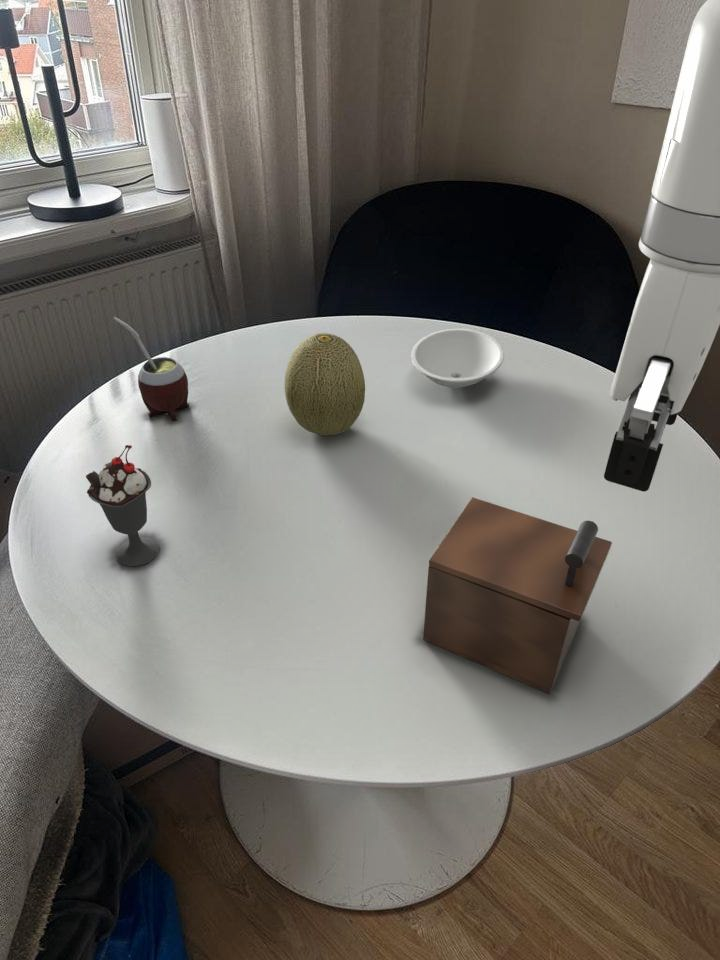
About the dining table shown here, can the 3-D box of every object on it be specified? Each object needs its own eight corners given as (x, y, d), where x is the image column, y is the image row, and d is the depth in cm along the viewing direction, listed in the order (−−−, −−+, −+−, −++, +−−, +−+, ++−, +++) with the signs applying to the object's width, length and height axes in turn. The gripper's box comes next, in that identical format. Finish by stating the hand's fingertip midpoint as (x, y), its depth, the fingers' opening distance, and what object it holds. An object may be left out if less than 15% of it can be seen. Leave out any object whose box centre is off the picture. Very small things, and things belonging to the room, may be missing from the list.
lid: (610, 547, 68) (620, 509, 65) (579, 622, 61) (589, 583, 58) (471, 502, 74) (475, 466, 71) (428, 566, 67) (430, 528, 64)
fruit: (311, 460, 98) (305, 364, 89) (275, 422, 105) (266, 330, 96) (379, 435, 103) (381, 342, 93) (340, 400, 110) (338, 311, 101)
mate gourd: (198, 416, 107) (182, 325, 97) (146, 430, 104) (124, 338, 95) (184, 393, 112) (167, 305, 103) (134, 406, 109) (112, 316, 100)
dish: (488, 416, 106) (492, 388, 103) (397, 400, 110) (398, 372, 107) (509, 362, 119) (512, 335, 116) (426, 349, 123) (428, 322, 120)
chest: (580, 620, 75) (601, 547, 69) (549, 694, 68) (570, 621, 61) (462, 575, 81) (471, 503, 74) (422, 639, 73) (428, 566, 67)
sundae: (178, 545, 85) (155, 443, 75) (137, 579, 80) (107, 476, 71) (139, 525, 88) (112, 425, 78) (97, 558, 83) (63, 455, 74)
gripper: (670, 185, 52) (618, 387, 62) (611, 264, 40) (559, 496, 50) (784, 200, 49) (709, 409, 59) (756, 290, 37) (668, 531, 48)
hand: (640, 449), depth 55 cm, fingers open, 9 cm apart
